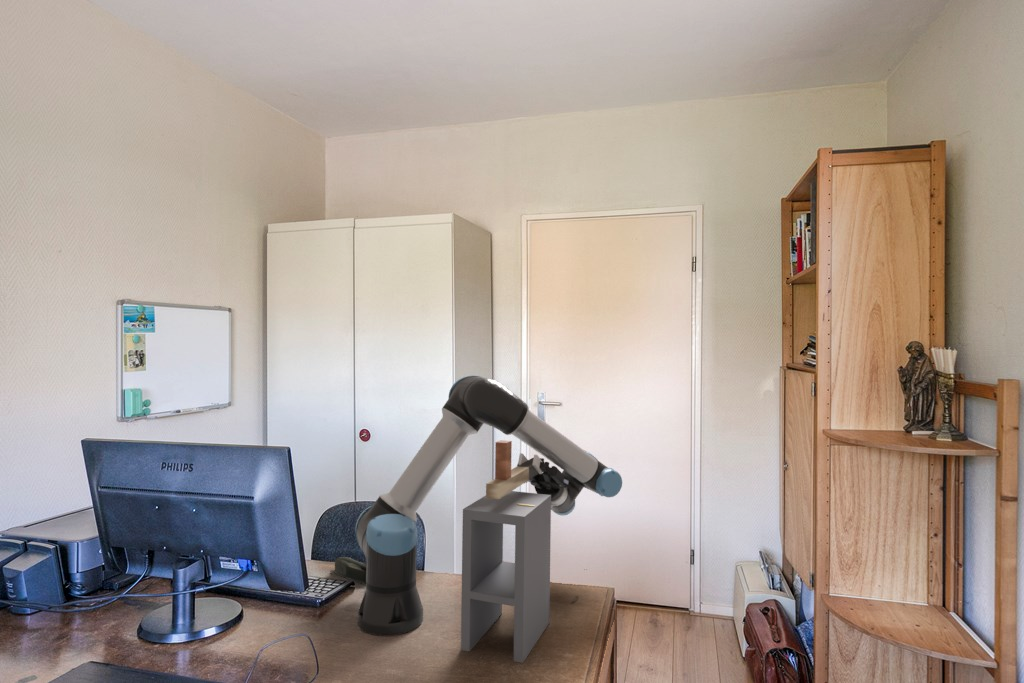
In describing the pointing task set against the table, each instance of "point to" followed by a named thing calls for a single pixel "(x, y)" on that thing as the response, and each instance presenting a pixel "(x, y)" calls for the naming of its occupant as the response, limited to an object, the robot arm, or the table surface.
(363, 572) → the mobile phone
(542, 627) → the shelf
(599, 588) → the table surface
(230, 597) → the table surface
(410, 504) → the robot arm
